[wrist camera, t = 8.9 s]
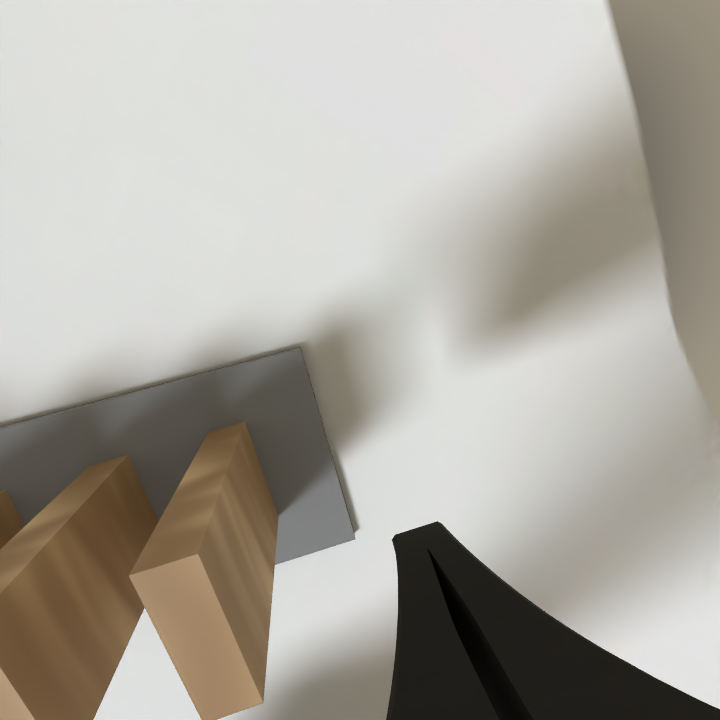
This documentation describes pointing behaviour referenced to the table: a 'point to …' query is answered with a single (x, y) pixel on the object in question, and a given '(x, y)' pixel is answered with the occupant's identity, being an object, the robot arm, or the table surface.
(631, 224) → the table surface
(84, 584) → the domino
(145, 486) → the slate mat
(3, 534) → the domino
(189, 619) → the domino
